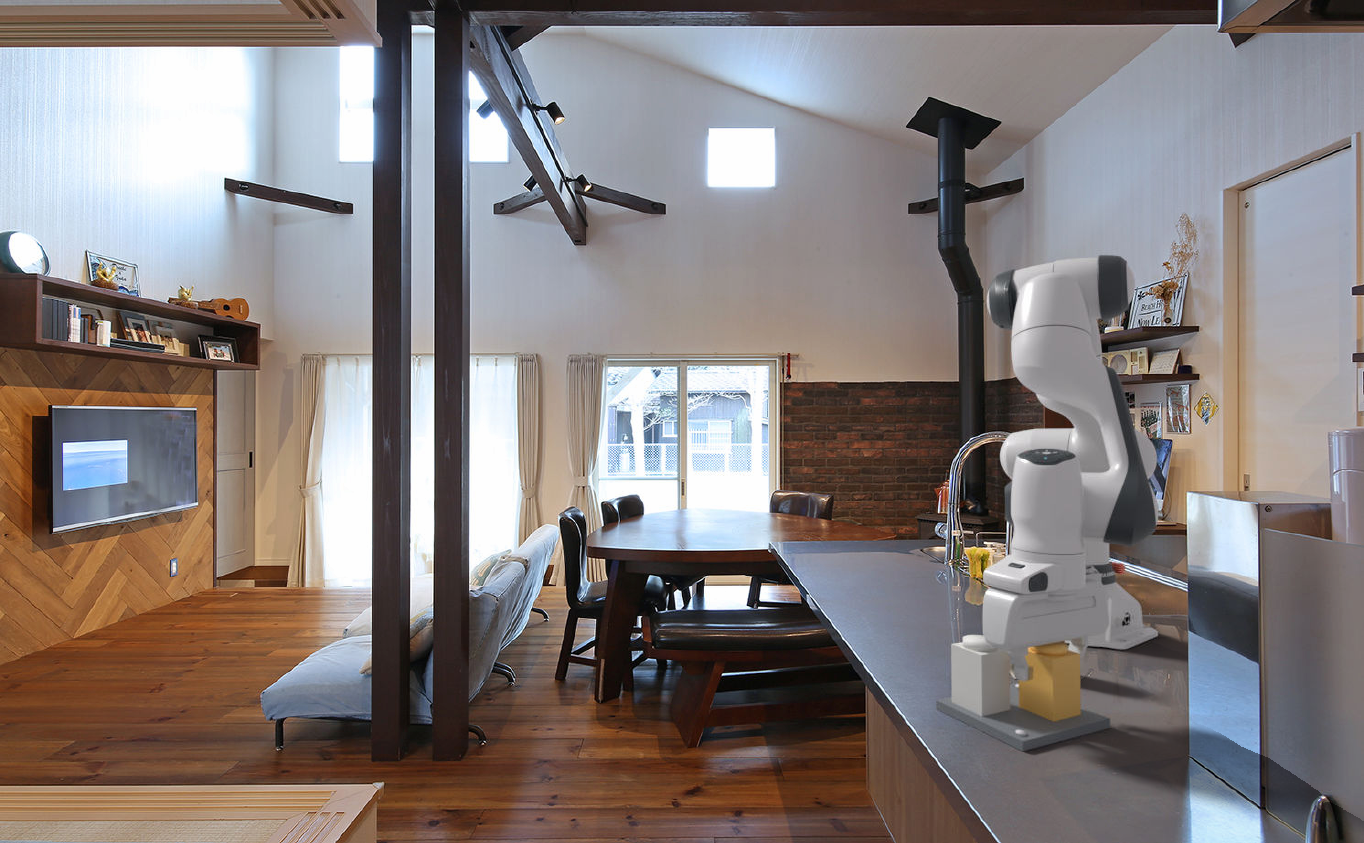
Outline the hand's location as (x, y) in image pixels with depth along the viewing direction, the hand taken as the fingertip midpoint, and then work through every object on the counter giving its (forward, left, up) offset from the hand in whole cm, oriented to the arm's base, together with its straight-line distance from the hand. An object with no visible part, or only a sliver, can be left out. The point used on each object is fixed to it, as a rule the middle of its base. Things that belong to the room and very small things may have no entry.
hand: (1048, 674), depth 92 cm
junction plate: (+3, -2, -6) cm, 7 cm away
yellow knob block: (0, 0, -5) cm, 5 cm away
